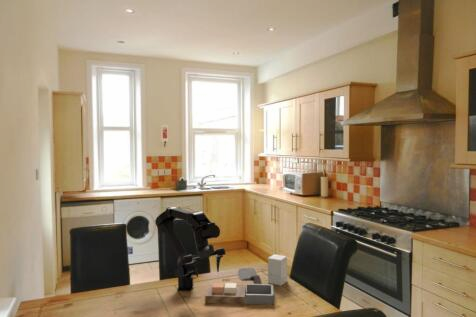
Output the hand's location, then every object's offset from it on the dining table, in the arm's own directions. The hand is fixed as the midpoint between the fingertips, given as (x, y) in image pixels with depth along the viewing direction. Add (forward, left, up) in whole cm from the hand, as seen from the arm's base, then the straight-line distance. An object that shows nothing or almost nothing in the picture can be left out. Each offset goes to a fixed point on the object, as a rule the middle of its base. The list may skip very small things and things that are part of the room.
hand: (207, 274), depth 161 cm
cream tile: (+10, 0, -7) cm, 12 cm away
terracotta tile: (+5, 0, -7) cm, 9 cm away
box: (+23, 0, -10) cm, 25 cm away
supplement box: (+32, +19, -10) cm, 39 cm away
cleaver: (+18, +23, -11) cm, 31 cm away
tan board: (+8, 0, -10) cm, 13 cm away
